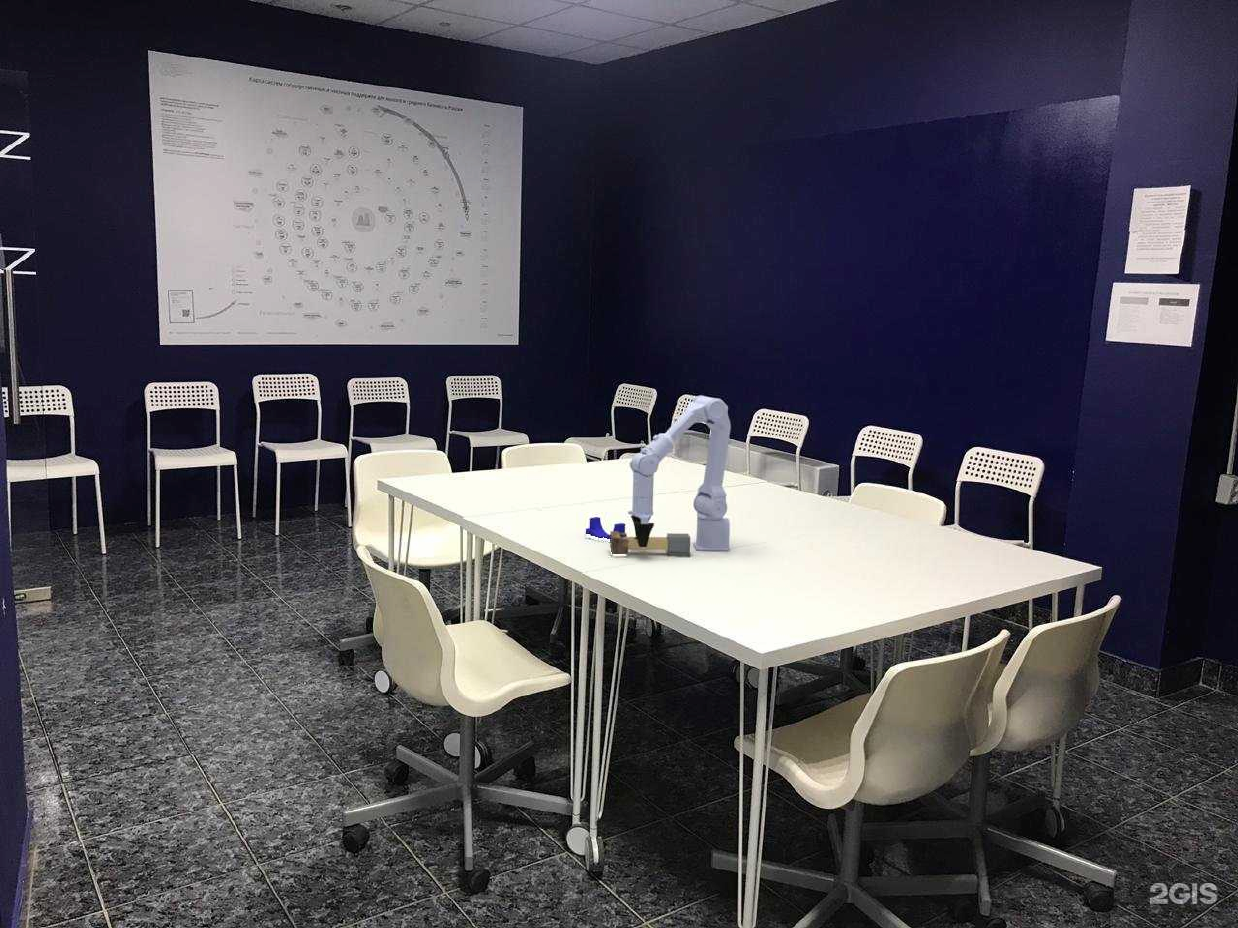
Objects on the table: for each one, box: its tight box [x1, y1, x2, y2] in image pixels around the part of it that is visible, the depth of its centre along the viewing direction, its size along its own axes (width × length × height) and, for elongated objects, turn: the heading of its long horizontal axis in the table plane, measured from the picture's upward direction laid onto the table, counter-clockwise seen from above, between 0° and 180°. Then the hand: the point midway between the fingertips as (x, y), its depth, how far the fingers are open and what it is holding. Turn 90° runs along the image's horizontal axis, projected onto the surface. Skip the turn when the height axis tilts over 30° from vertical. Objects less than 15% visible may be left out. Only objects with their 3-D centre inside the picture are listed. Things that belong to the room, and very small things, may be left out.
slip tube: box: [620, 536, 669, 551], centre depth 281 cm, size 14×3×3 cm, turn 94°
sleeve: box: [665, 532, 691, 558], centre depth 282 cm, size 6×6×5 cm
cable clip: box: [585, 516, 626, 539], centre depth 296 cm, size 12×4×6 cm, turn 45°
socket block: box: [609, 530, 629, 556], centre depth 280 cm, size 4×8×6 cm, turn 4°
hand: (641, 543), depth 281 cm, fingers open, 7 cm apart
